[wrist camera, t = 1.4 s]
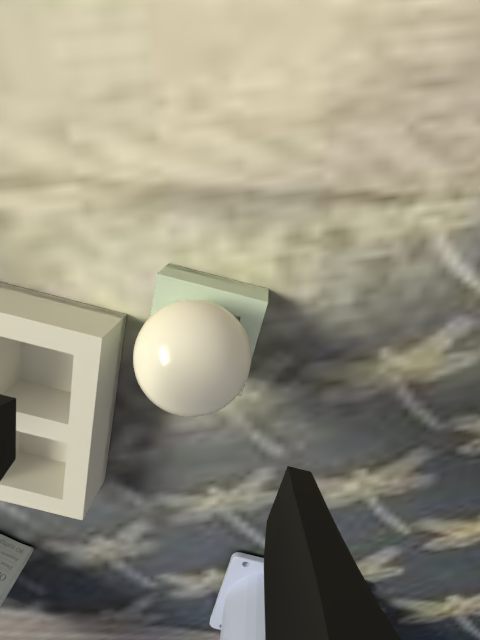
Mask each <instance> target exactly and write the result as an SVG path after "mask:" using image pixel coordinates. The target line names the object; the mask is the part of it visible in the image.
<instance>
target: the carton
mask: <svg viewBox="0 0 480 640" xmlns="http://www.w3.org/2000/svg"><path fill="white" fill-rule="evenodd" d="M126 318H127V314H124V313H120V312H116V311H112V310H108V309H104V308H100V307H96V306H92V305H88V304H85V303H81V302H77V301H73V300H69V299H65V298H61V297H57V296H53V295H49V294H45V293H41V292H37V291H34V290H30V289H26V288H22V287H18V286H14V285H10V284H6V283H2V282H0V394H1V395H5V396H9V397H13V398H16V459H15V461H14V462H13V464H12V465H11V467H10V468H9V469H8V471H7V472H6V474H5V475H4V477H3V478H2V480H1V481H0V500H2V501H6V502H10V503H14V504H18V505H22V506H26V507H30V508H34V509H38V510H43V511H47V512H51V513H55V514H59V515H63V516H67V517H71V518H75V519H79V520H83V518H84V517H85V515H86V513H87V511H88V509H89V508H90V506H91V504H92V502H93V500H94V499H95V497H96V495H97V493H98V491H99V489H100V488H101V486H102V484H103V482H104V480H105V476H106V469H107V461H108V454H109V446H110V439H111V431H112V424H113V416H114V409H115V401H116V393H117V386H118V378H119V371H120V363H121V356H122V348H123V341H124V333H125V326H126Z"/></svg>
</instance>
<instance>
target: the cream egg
mask: <svg viewBox="0 0 480 640" xmlns="http://www.w3.org/2000/svg"><path fill="white" fill-rule="evenodd" d="M133 367H134V371H135V375H136V378H137V381H138V383H139V385H140V387H141V389H142V390H143V392H144V393H145V395H146V396H147V397H148V398H149V399H150V400H151V401H152V402H153V403H154V404H155V405H157V406H158V407H159V408H161V409H163V410H165V411H167V412H169V413H172V414H175V415H179V416H185V417H197V416H204V415H208V414H211V413H214V412H216V411H218V410H220V409H222V408H223V407H225V406H226V405H228V404H229V403H230V402H231V401H232V400H233V399H234V398H235V397H236V396H237V395H238V394H239V393H240V391H241V390H242V388H243V386H244V384H245V383H246V381H247V378H248V375H249V372H250V367H251V347H250V343H249V339H248V337H247V334H246V331H245V330H244V328H243V326H242V325H241V323H240V322H239V321H238V319H237V318H236V317H235V316H234V315H233V314H232V313H230V312H229V311H228V310H227V309H225V308H224V307H222V306H220V305H218V304H216V303H213V302H210V301H207V300H201V299H184V300H179V301H176V302H173V303H170V304H168V305H166V306H164V307H162V308H161V309H159V310H158V311H156V312H155V313H154V314H153V315H152V316H151V317H150V318H149V319H148V320H147V321H146V322H145V324H144V325H143V327H142V328H141V330H140V332H139V334H138V336H137V339H136V342H135V346H134V352H133Z"/></svg>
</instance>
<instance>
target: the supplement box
mask: <svg viewBox="0 0 480 640" xmlns="http://www.w3.org/2000/svg"><path fill="white" fill-rule="evenodd" d="M33 550H34V548H33V547H30V546H27V545H24V544H21V543H19V542H17V541H15V540H13V539H11V538H8V537H6V536H4V535H2V534H0V606H1V604H2V603H3V601H4V600H5V598H6V596H7V595H8V593H9V592H10V590H11V588H12V587H13V585H14V583H15V582H16V580H17V578H18V576H19V575H20V573H21V571H22V570H23V568H24V566H25V564H26V563H27V561H28V559H29V558H30V556H31V554H32V552H33Z"/></svg>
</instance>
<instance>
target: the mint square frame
mask: <svg viewBox="0 0 480 640" xmlns="http://www.w3.org/2000/svg"><path fill="white" fill-rule="evenodd" d="M268 291H269V289H266V288H262V287H258V286H255V285H251V284H247V283H243V282H239V281H235V280H231V279H227V278H223V277H220V276H216V275H212V274H208V273H204V272H200V271H196V270H192V269H189V268H185V267H181V266H177V265H173V264H168V265H167V266H165V267H164V268H163V269H162V270H161V271H159V272H158V273H157V276H156V283H155V289H154V295H153V302H152V308H151V314H150V317H151V316H152V315H153V314H154V313H155V312H156V311H158V310H159V309H161V308H162V307H164V306H166V305H168V304H170V303H173V302H176V301H179V300H184V299H201V300H207V301H210V302H213V303H216V304H218V305H220V306H222V307H224V308H225V309H227V310H228V311H229V312H230V313H232V314H233V315H234V316H235V317H236V318H237V319H238V321H239V322H240V323H241V325H242V326H243V328H244V330H245V331H246V334H247V337H248V339H249V343H250V347H251V360H252V357H253V353H254V350H255V346H256V343H257V339H258V336H259V332H260V329H261V325H262V322H263V319H264V315H265V312H266V308H267V305H268ZM244 385H245V384H244ZM243 388H244V386H243ZM243 388H242V390H241V391H240V393H239V394H238V395H239V396H241V395H242V391H243Z"/></svg>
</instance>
